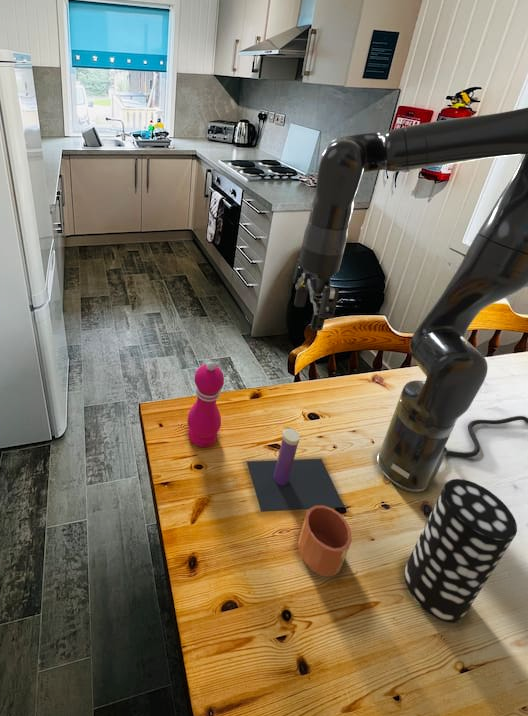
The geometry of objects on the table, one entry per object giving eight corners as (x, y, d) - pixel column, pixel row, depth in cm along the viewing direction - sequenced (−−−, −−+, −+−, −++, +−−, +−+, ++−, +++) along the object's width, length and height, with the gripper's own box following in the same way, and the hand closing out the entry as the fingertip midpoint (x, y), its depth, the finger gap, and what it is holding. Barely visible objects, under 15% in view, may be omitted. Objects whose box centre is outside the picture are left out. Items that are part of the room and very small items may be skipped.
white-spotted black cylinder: (441, 635, 57) (493, 551, 49) (391, 573, 64) (430, 490, 56) (476, 608, 60) (530, 525, 52) (425, 551, 67) (466, 471, 59)
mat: (320, 460, 82) (321, 458, 82) (344, 508, 73) (344, 507, 73) (246, 463, 81) (246, 461, 81) (260, 513, 72) (261, 511, 72)
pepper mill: (217, 452, 83) (228, 378, 75) (183, 445, 84) (190, 371, 76) (220, 425, 89) (230, 354, 81) (188, 419, 90) (195, 348, 83)
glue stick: (285, 471, 79) (296, 427, 74) (291, 485, 76) (302, 441, 72) (271, 472, 79) (281, 428, 74) (276, 486, 76) (286, 441, 71)
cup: (329, 530, 70) (338, 504, 67) (349, 576, 63) (360, 550, 60) (291, 532, 69) (298, 506, 66) (307, 579, 63) (316, 552, 60)
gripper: (361, 262, 69) (340, 338, 75) (325, 231, 82) (310, 299, 88) (320, 261, 68) (303, 338, 74) (290, 231, 81) (277, 298, 87)
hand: (306, 317), depth 81 cm, fingers open, 8 cm apart
